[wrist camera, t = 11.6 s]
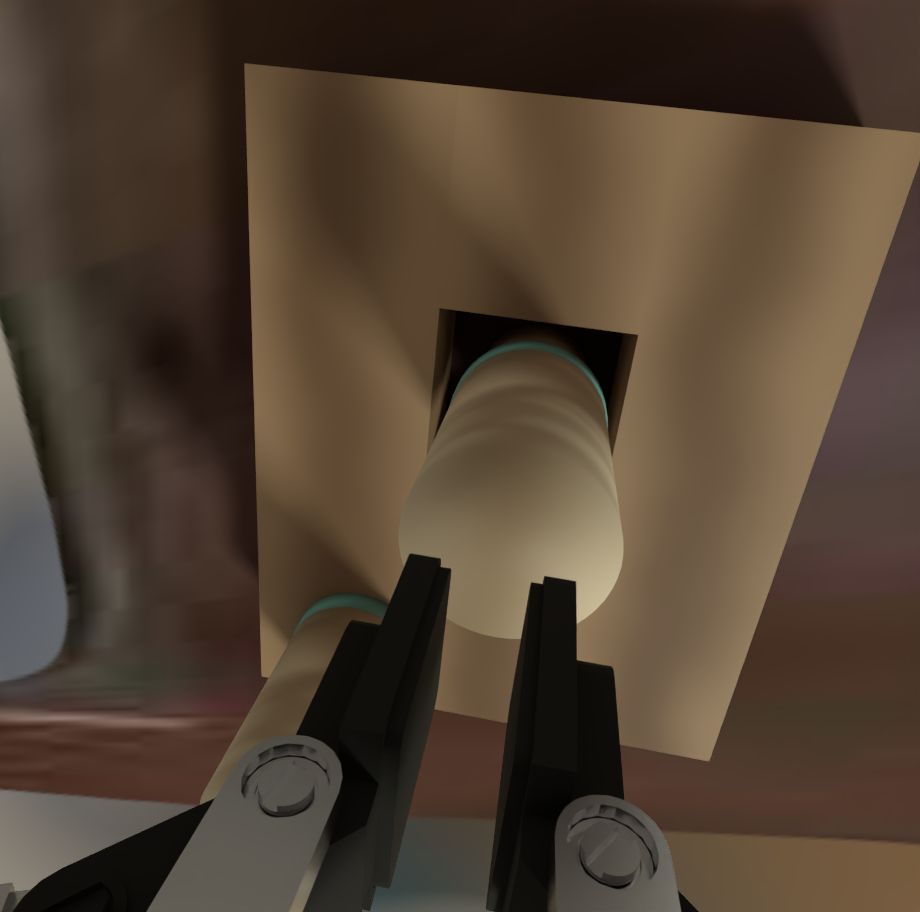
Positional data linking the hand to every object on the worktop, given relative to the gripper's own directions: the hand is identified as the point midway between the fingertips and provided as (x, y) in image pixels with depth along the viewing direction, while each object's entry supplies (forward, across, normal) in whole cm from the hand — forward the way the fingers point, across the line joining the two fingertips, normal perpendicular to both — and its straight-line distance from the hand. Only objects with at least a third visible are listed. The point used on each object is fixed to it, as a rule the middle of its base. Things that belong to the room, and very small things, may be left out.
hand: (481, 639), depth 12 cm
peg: (+15, 0, 0) cm, 15 cm away
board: (+15, 0, +2) cm, 15 cm away
